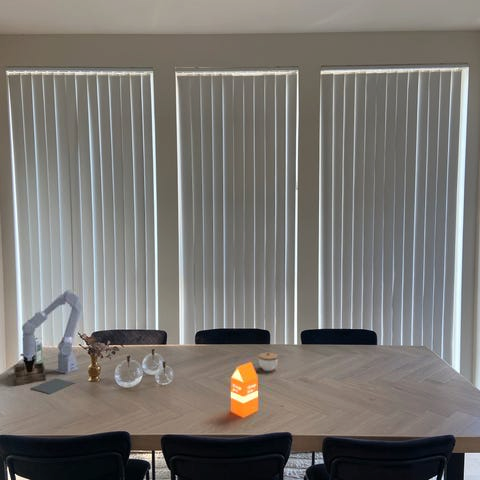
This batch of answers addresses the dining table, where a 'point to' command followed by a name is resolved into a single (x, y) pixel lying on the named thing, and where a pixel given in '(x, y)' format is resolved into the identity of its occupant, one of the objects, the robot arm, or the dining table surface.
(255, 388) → the orange juice
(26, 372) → the birch block
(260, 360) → the lidded jar
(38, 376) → the walnut crate
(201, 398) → the dining table surface
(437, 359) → the dining table surface
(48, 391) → the rubber mat
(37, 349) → the syrup box
